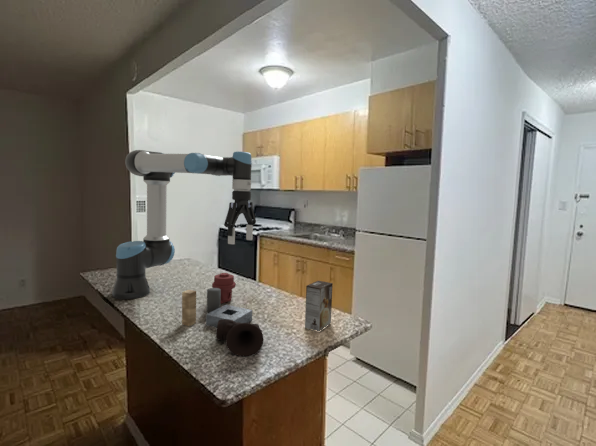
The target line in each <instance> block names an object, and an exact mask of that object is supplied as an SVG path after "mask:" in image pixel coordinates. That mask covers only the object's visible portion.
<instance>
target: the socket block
mask: <svg viewBox="0 0 596 446" xmlns="http://www.w3.org/2000/svg"><path fill="white" fill-rule="evenodd" d="M221 319H226V320H227V319H229V320H233V321H235V322H236V323H238V322H240V323H251V322H253V309H249V308H244V307H239V306H234V305H230V304H225V305H222V306H220V308H218V309H216V310H214V311H212V312H210V313H206V314H205V326H207V327H208V326H209V327H211V328H216V329H217V325H218V321H219V320H221Z"/></svg>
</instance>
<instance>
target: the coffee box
mask: <svg viewBox="0 0 596 446" xmlns="http://www.w3.org/2000/svg"><path fill="white" fill-rule="evenodd" d="M305 287H306V289H305V311H304V313H305V315H304V317H305V320H304V329H306V328H308V329H307V330H309V329H313V330H317V331H320V330H322V329H323V328H324V327H326V326H327V325H329V324H330V323H331V324H332V307H333V304H332V302H333V282H329V281H322V280H316V281H314V282H312V283H309V284H307V285H306V286H305ZM329 326H330V325H329ZM326 328H327V327H326ZM313 330H312V331H313ZM322 331H323V330H322Z"/></svg>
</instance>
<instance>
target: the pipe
mask: <svg viewBox="0 0 596 446" xmlns="http://www.w3.org/2000/svg"><path fill="white" fill-rule="evenodd" d="M215 337H216V340H218V341H222V342H223V341H225V344H226V348H227V349H228V351H229V352H230V353H231V354H233V355H235V356H238V357H245V358H246V357H251V356H255V355H256V354H258V353H259V352H260V351H261V350H262V346H263V344H264V334H263V329H261V327H260V325H259V324H258V323H251V322H249V323H240V322H238V323H236V322H235V321H233V320H229V319H227V320H226V319H221V320H219V321H218V325H217V328H216V332H215Z"/></svg>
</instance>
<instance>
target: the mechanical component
mask: <svg viewBox="0 0 596 446" xmlns="http://www.w3.org/2000/svg"><path fill="white" fill-rule="evenodd" d="M213 280H214V281H213V282H212V283H211V288H219V289H221V299H220V305H221V304H222V305H223V304H225V303H228V302H229V303H230V302H232V298H233V297H232V296H233V289H235V288H236V286H237V285H236V282H235V276H234V275H233V274H230V273H228V272H221V273H218V274H215V275H214V277H213Z"/></svg>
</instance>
